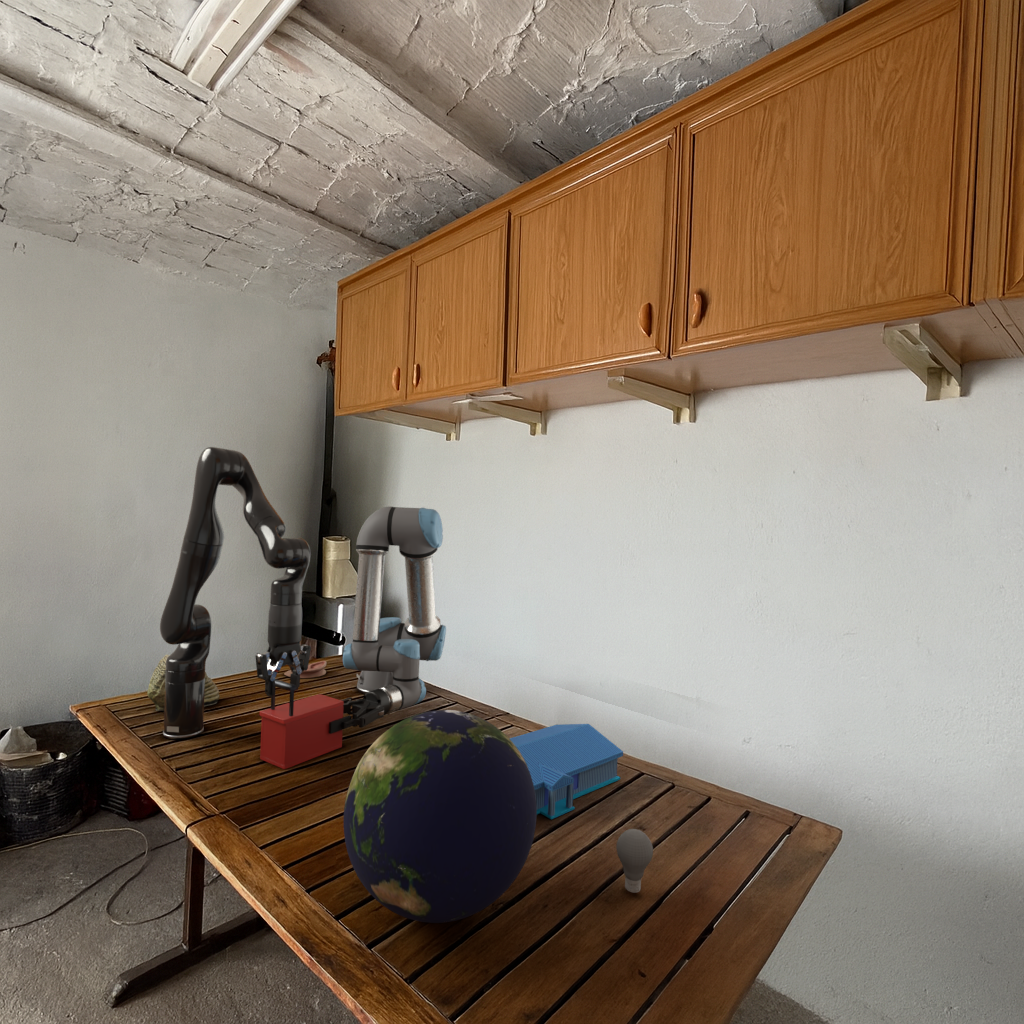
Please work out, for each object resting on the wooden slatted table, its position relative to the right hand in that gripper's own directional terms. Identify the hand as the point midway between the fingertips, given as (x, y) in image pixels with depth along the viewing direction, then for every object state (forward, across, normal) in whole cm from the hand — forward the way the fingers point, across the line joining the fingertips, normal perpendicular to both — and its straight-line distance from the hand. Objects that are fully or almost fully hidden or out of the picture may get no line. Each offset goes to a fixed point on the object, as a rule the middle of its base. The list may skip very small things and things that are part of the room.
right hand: (316, 723), depth 159 cm
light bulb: (+6, -88, -6) cm, 88 cm away
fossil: (+4, +53, -6) cm, 54 cm away
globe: (+29, -64, -6) cm, 71 cm away
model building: (-15, -55, -6) cm, 57 cm away
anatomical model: (-40, +54, -6) cm, 68 cm away
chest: (+4, 0, -6) cm, 7 cm away
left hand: (+11, 0, +10) cm, 15 cm away
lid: (+4, 0, +4) cm, 6 cm away
